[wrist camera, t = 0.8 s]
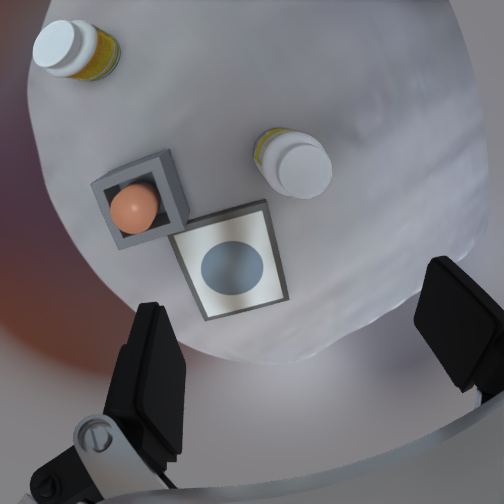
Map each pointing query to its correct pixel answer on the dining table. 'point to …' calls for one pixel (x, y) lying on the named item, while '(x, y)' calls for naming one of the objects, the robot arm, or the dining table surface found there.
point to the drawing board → (231, 261)
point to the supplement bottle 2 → (292, 163)
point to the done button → (135, 207)
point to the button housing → (167, 184)
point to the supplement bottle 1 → (76, 50)
